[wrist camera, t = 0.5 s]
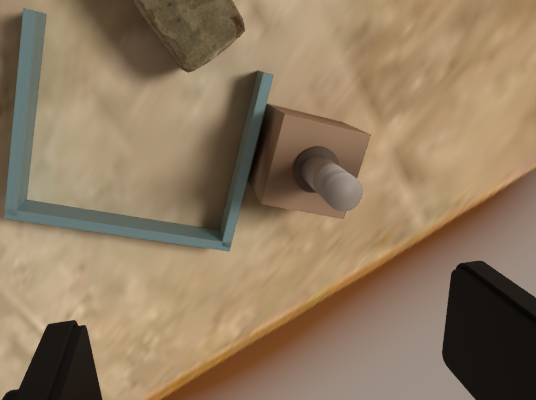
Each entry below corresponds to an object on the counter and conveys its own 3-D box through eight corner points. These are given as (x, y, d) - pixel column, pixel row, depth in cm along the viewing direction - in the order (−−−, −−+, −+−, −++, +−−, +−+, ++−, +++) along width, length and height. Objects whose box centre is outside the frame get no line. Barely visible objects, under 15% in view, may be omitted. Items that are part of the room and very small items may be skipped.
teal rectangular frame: (34, 10, 31) (23, 7, 29) (267, 73, 36) (273, 74, 34) (14, 207, 35) (3, 218, 33) (226, 239, 40) (229, 251, 38)
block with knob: (267, 103, 37) (309, 127, 26) (342, 122, 39) (411, 152, 28) (248, 181, 39) (279, 235, 28) (320, 195, 41) (376, 251, 30)
